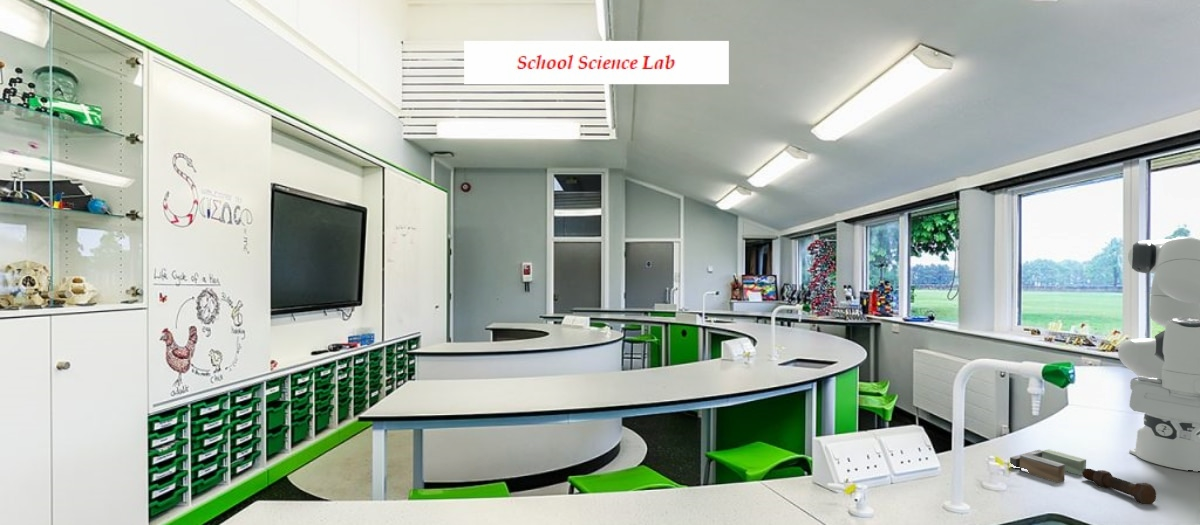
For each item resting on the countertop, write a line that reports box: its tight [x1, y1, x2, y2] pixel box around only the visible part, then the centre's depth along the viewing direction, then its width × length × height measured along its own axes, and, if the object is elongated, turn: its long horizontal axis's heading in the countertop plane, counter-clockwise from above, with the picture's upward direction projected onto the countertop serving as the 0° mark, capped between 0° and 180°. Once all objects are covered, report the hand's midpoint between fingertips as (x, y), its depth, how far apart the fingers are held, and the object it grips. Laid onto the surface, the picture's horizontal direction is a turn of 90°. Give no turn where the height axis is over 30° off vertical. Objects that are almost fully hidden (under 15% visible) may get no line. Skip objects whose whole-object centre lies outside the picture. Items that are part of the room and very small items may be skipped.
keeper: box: [1009, 449, 1087, 483], centre depth 152 cm, size 17×12×4 cm
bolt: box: [1082, 468, 1157, 506], centre depth 139 cm, size 6×5×15 cm
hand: (1186, 438), depth 127 cm, fingers closed
